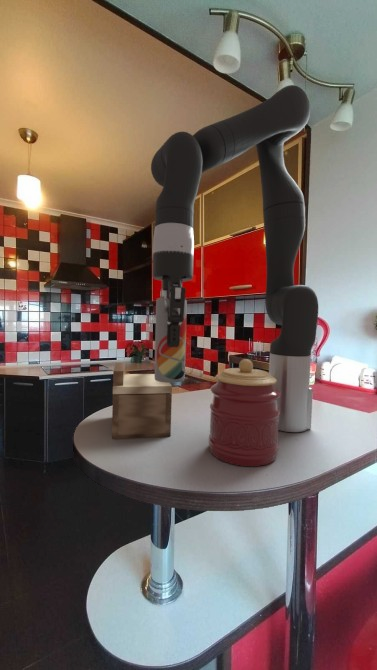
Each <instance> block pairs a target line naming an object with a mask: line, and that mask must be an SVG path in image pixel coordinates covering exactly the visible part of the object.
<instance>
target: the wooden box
mask: <svg viewBox="0 0 377 670" xmlns="http://www.w3.org/2000/svg"><path fill="white" fill-rule="evenodd" d="M172 394H173V393H155V394H113V393H112V415H111V417H112V418H111V419H112V420H111V421H112V423H111V439H112V440H119V439H120V440H123V439H142V438H144V439H145V438H161V437H162V438H163V437H166V438H167V437H171V436H172V435H171V432H172V431H171V430H172V405H173V404H172V397H173V395H172Z"/></svg>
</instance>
